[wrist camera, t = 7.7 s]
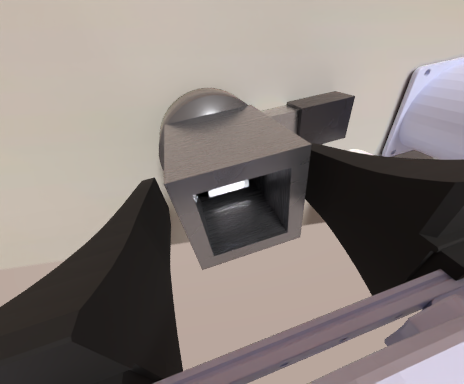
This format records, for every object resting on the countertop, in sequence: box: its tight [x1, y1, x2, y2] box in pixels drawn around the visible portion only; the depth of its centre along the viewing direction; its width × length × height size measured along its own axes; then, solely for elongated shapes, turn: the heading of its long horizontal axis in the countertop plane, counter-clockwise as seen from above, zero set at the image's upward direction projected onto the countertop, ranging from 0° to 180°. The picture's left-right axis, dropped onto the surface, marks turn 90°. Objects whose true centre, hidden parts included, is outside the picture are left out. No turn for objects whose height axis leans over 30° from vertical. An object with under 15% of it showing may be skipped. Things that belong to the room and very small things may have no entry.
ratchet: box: [159, 88, 355, 197], centre depth 13 cm, size 14×7×5 cm, turn 98°
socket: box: [164, 105, 312, 270], centre depth 10 cm, size 5×5×6 cm
